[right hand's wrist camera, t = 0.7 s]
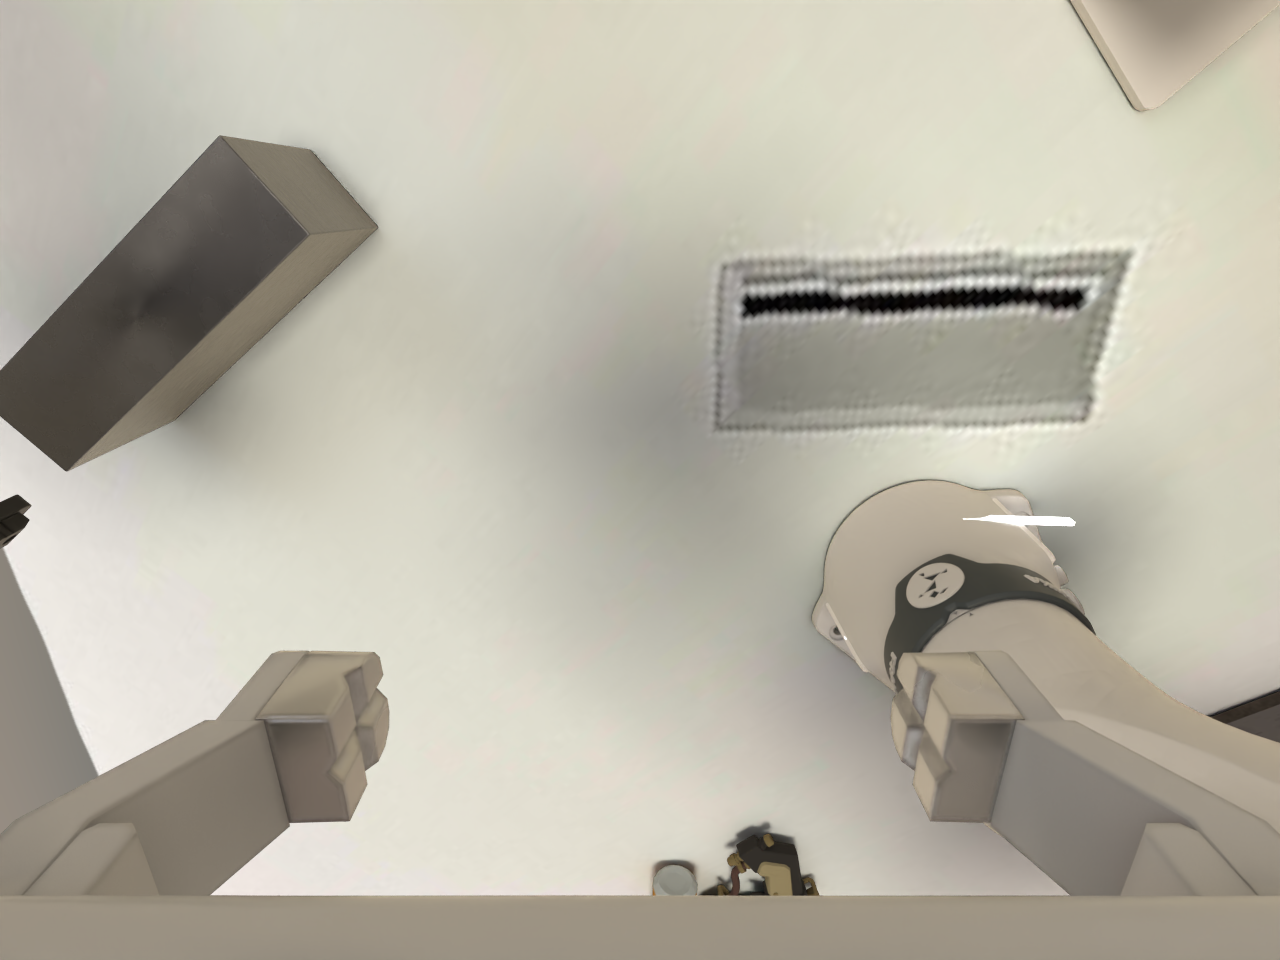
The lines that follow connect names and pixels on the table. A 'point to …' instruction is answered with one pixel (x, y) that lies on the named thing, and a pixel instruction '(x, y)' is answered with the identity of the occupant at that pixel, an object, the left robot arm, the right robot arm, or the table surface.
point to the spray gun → (752, 853)
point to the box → (181, 298)
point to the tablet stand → (1165, 39)
